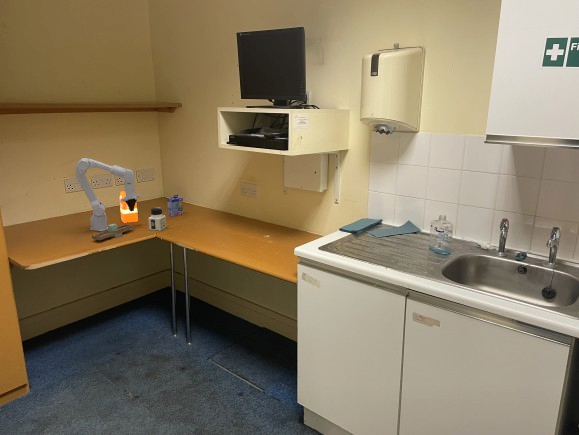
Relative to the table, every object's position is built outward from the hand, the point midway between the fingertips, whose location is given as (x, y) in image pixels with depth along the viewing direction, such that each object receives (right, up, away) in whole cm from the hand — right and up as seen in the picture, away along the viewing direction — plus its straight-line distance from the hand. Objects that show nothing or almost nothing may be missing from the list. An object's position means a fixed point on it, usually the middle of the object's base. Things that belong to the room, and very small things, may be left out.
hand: (131, 211), depth 277 cm
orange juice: (-7, -6, +17) cm, 20 cm away
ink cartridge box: (+19, -2, +33) cm, 38 cm away
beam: (-5, -15, -15) cm, 22 cm away
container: (+16, -11, 0) cm, 20 cm away
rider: (-5, -12, -16) cm, 21 cm away
